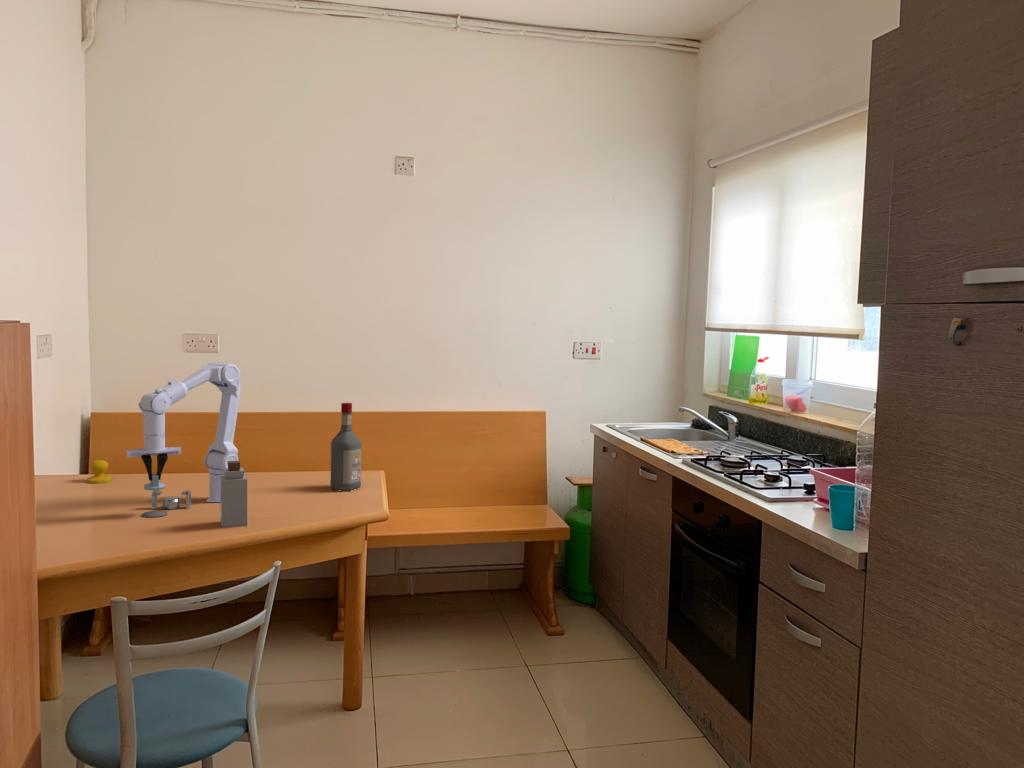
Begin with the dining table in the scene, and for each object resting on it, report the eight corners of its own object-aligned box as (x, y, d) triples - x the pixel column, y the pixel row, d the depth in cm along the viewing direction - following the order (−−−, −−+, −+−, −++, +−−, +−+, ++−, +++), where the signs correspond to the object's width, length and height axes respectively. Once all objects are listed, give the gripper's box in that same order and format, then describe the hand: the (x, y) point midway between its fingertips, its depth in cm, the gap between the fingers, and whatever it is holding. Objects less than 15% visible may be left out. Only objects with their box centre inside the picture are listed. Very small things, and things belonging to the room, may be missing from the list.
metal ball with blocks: (191, 505, 245) (191, 489, 245) (188, 509, 240) (188, 493, 240) (154, 506, 243) (154, 490, 243) (150, 510, 238) (150, 494, 238)
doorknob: (117, 480, 277) (96, 484, 270) (102, 478, 280) (81, 482, 273) (117, 459, 276) (96, 463, 269) (101, 457, 280) (81, 460, 273)
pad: (170, 511, 238) (170, 510, 238) (164, 517, 231) (164, 516, 231) (145, 511, 236) (145, 510, 236) (138, 517, 229) (138, 516, 229)
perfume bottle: (220, 521, 228) (220, 460, 227) (245, 519, 231) (245, 459, 229) (221, 527, 222) (221, 464, 220) (247, 525, 225) (247, 463, 223)
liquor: (364, 487, 278) (365, 403, 275) (347, 492, 269) (348, 405, 267) (343, 484, 282) (344, 401, 279) (326, 489, 274) (327, 403, 271)
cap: (166, 490, 231) (166, 476, 231) (145, 491, 228) (145, 478, 228) (162, 484, 238) (162, 471, 237) (142, 486, 235) (142, 472, 235)
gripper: (178, 431, 239) (178, 475, 240) (125, 433, 231) (125, 479, 232) (182, 434, 233) (182, 479, 234) (128, 436, 225) (128, 483, 226)
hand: (154, 479), depth 233 cm, fingers closed on cap, 2 cm apart
